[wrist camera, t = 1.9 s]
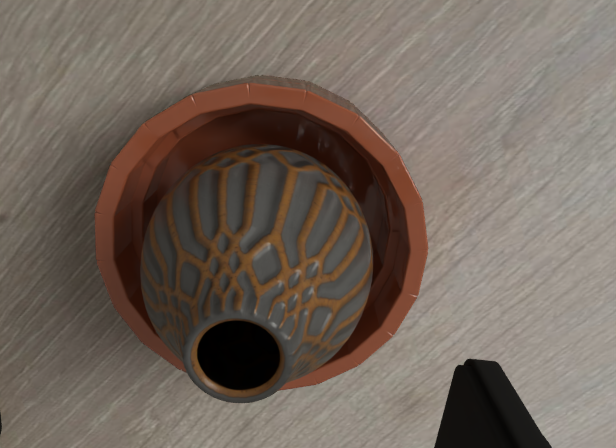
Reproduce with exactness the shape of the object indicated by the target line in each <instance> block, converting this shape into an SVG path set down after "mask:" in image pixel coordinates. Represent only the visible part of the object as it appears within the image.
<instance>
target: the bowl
mask: <svg viewBox="0 0 616 448" xmlns="http://www.w3.org/2000/svg"><path fill="white" fill-rule="evenodd" d="M250 144H270V145H278V146H283V147H287V148H291V149H294V150H297V151H300V152H302V153H305V154H307V155H309V156H311V157H313V158H315V159H317V160H318V161H320V162H321V163H323V164H324V165H326V166H327V167H328V168H330V169H331V170H332V171H333V172H334V173H335V174H336V175H337V176H339V178H340V179H341V180H342V181H343V182H344V183H345V184H346V186H347V187H348V188H349V190H350V191H351V193H352V194H353V196H354V197H355V199H356V201H357V202H358V204H359V206H360V208H361V211H362V213H363V215H364V218H365V220H366V223H367V226H368V229H369V233H370V238H371V243H372V249H373V275H372V283H371V288H370V292H369V296H368V299H367V303H366V305H365V308H364V311H363V313H362V316H361V318H360V320H359V322H358V324H357V326H356V328H355V329H354V331H353V333H352V334H351V336H350V337H349V339H348V340H347V341H346V342H345V344H344V345H343V346H342V347H341V349H340V350H339V351H338V352H337V353H336V354H335V355H334V356H333V357H332V358H331V359H329V360H328V361H327V362H326V363H324V364H323V365H322V366H320V367H319V368H317V369H316V370H314V371H313V372H311V373H309V374H307V375H305V376H303V377H301V378H299V379H296V380H293V381H291V382H288V383H285V385H284V386H283V387H282V388H281V389H279V390H286V389H292V388H298V387H305V386H311V385H316V384H319V383H322V382H324V381H326V380H328V379H330V378H333V377H335V376H337V375H339V374H341V373H344V372H346V371H348V370H350V369H352V368H355V367H357V366H358V364H359V365H360V364H361V363H363V362H364V361H365V360H366V359H367V358H368V357H370V356H371V355H372V354H373V353H374V352H375V351H376V350H378V349H379V348H380V347H381V346H382V345H383V344H385V343H386V342H387V341H388V340H389V339H390V338H392V336H393V335H394V334H395V333H396V331H397V329H398V328H399V326H400V325H401V323H402V321H403V320H404V318H405V316H406V315H407V313H408V312H409V310H410V308H411V307H412V305H413V303H414V302H415V300H416V299H417V296H418V294H419V290H420V285H421V281H422V276H423V272H424V268H425V263H426V259H427V254H428V241H427V233H426V224H425V216H424V208H423V202H422V198H421V196H420V194H419V192H418V190H417V188H416V186H415V184H414V182H413V180H412V178H411V176H410V174H409V172H408V170H407V168H406V166H405V164H404V162H403V160H402V158H401V156H400V155H399V153H398V152H397V151H396V149H395V148H394V147H393V145H392V144H391V143H390V142H389V141H388V139H387V138H386V137H385V135H384V134H383V133H382V132H381V131H380V130H379V129H378V128H377V127H376V126H375V125H374V124H373V123H372V122H371V121H370V120H369V119H368V118H367V117H366V116H365V115H364V114H363V113H362V112H361V111H360V110H359V109H358V108H357V107H356V106H355V105H354V104H353V103H351V102H350V101H349V100H347V99H345V98H342V97H340V96H338V95H336V94H334V93H332V92H330V91H328V90H326V89H324V88H322V87H320V86H318V85H316V84H314V83H311V82H309V81H308V82H307V81H305V80H298V79H290V78H282V77H274V76H266V75H261V76H259V75H255V76H250V77H245V78H240V79H236V80H231V81H226V82H221V83H216V84H213V85H210V86H208V87H206V88H204V89H202V90H199V91H197V92H195V93H193V94H191V95H189V96H187V97H185V98H184V99H182V100H180V101H179V102H177V103H175V104H174V105H172V106H170V107H169V108H167V109H165V110H164V111H162V112H160V113H159V114H157V115H155V116H154V117H152V118H150V119H149V120H147V121H145V123H143V124H142V125H141V126H140V127H139V129H138V130H137V131H136V132H135V134H134V135H133V136H132V137H131V139H130V140H129V141H128V142H127V144H126V145H125V146H124V147H123V148H122V150H121V151H120V152H119V153H118V155H117V156H116V157H115V158H114V160H113V161H112V162H111V165H110V166H109V169H108V172H107V175H106V178H105V181H104V184H103V187H102V190H101V193H100V196H99V199H98V202H97V205H96V209H95V243H96V260H97V265H98V267H99V270H100V272H101V275H102V278H103V280H104V283H105V286H106V288H107V291H108V294H109V296H110V299H111V301H112V304H113V306H114V308H115V309H116V310H117V312H118V313H119V314H120V315H121V317H122V318H123V319H124V321H125V322H126V323H127V324H128V326H129V327H130V328H131V329H132V331H133V332H134V333H135V335H136V336H137V337H138V338H139V340H140V341H141V342H143V344H144V345H146V346H147V347H148V348H150V349H151V350H153V351H154V352H155V353H157V354H158V355H160V356H161V357H162V358H164V359H165V360H167V361H168V362H169V363H171V364H172V365H174V366H175V367H176V368H178V369H179V370H181V369H182V371H184V372H186V370H185V367H184V364H183V362H182V361H180V360H179V359H178V358H177V357H176V356H175V355H174V354H173V353H172V352H171V351H170V350H169V349H168V347H167V346H166V345H165V344H164V342H163V341H162V340H161V338H160V337H159V335H158V334H157V332H156V330H155V328H154V326H153V325H152V323H151V320H150V318H149V316H148V313H147V310H146V307H145V303H144V299H143V295H142V289H141V276H140V266H141V254H142V248H143V242H144V238H145V234H146V231H147V228H148V225H149V222H150V220H151V218H152V215H153V213H154V211H155V209H156V207H157V206H158V204H159V202H160V201H161V199H162V198H163V197H164V195H165V194H166V192H167V191H168V190H169V189H170V187H171V186H172V185H173V184H174V183H175V182H176V181H177V180H178V179H179V178H180V177H181V176H182V175H183V174H184V173H186V172H187V171H188V170H189V169H190V168H192V167H193V166H195V165H196V164H197V163H199V162H201V161H202V160H204V159H206V158H208V157H209V156H211V155H213V154H215V153H218V152H220V151H223V150H226V149H229V148H233V147H237V146H242V145H250ZM186 373H187V372H186ZM279 390H278V391H279Z"/></svg>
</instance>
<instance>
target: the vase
mask: <svg viewBox="0 0 616 448" xmlns="http://www.w3.org/2000/svg"><path fill="white" fill-rule="evenodd" d="M372 275H373V249H372V243H371V238H370V233H369V229H368V226H367V223H366V220H365V218H364V215H363V213H362V211H361V208H360V206H359V204H358V202H357V201H356V199H355V197H354V196H353V194H352V193H351V191H350V190H349V188H348V187H347V186H346V184H345V183H344V182H343V181H342V180H341V179H340V178H339V176H337V175H336V174H335V173H334V172H333V171H332V170H331V169H330V168H328V167H327V166H326V165H324V164H323V163H321V162H320V161H318V160H317V159H315V158H313V157H311V156H309V155H307V154H305V153H302V152H300V151H297V150H294V149H291V148H287V147H283V146H278V145H270V144H250V145H242V146H237V147H233V148H229V149H226V150H223V151H220V152H218V153H215V154H213V155H211V156H209V157H208V158H206V159H204V160H202V161H201V162H199V163H197V164H196V165H195V166H193V167H192V168H190V169H189V170H188V171H187V172H186V173H184V174H183V175H182V176H181V177H180V178H179V179H178V180H177V181H176V182H175V183H174V184H173V185H172V186H171V187H170V189H169V190H168V191H167V192H166V194H165V195H164V197H163V198H162V199H161V201H160V202H159V204H158V206H157V207H156V209H155V211H154V213H153V215H152V218H151V220H150V222H149V225H148V228H147V231H146V234H145V238H144V242H143V248H142V254H141V266H140V276H141V289H142V295H143V299H144V303H145V307H146V310H147V313H148V316H149V318H150V320H151V323H152V325H153V326H154V328H155V330H156V332H157V334H158V335H159V337H160V338H161V340H162V341H163V342H164V344H165V345H166V346H167V347H168V349H169V350H170V351H171V352H172V353H173V354H174V355H175V356H176V357H177V358H178V359H179V360H180V361H182V362H183V364H184V367H185V370H186V372H187V374H188V375H189V377H190V378H191V380H192V381H193V382H194V383H195V384H196V385H197V386H198V387H199V388H200V389H201V390H202V391H204V392H205V393H207V394H208V395H210V396H212V397H214V398H217V399H219V400H223V401H226V402H232V403H250V402H255V401H259V400H262V399H265V398H267V397H269V396H271V395H272V394H274V393H276V392H277V391H278V390H279V389H281V388H282V387H283V386H284V385H285V383H288V382H291V381H293V380H296V379H299V378H301V377H303V376H305V375H307V374H309V373H311V372H313V371H314V370H316V369H317V368H319V367H320V366H322V365H323V364H324V363H326V362H327V361H328V360H329V359H331V358H332V357H333V356H334V355H335V354H336V353H337V352H338V351H339V350H340V349H341V347H342V346H343V345H344V344H345V342H346V341H347V340H348V339H349V337H350V336H351V334H352V333H353V331H354V329H355V328H356V326H357V324H358V322H359V320H360V318H361V316H362V313H363V311H364V308H365V305H366V303H367V299H368V296H369V292H370V288H371V283H372Z"/></svg>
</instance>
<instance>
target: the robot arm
mask: <svg viewBox="0 0 616 448" xmlns="http://www.w3.org/2000/svg"><path fill="white" fill-rule="evenodd" d="M1 429H2V424H1V414H0V434H1ZM434 448H552V447H551V445H550V444H549V442H548V441H547V440H546V438H545V437H544V436H543V435H542V433H541V432H540V430H539V428H538V427H537V425H536V424H535V422H534V420H533V419H532V417H531V415H530V414H529V412H528V410H527V409H526V407H525V406H524V404H523V402H522V401H521V399H520V397H519V396H518V394H517V393H516V391H515V389H514V388H513V386H512V384H511V383H510V381H509V379H508V378H507V376H506V375H505V373H504V371H503V370H502V368H501V366H500V365H499V364H498V363H497V362H495V361H486V360H477V359H467V360H466V361H465V363H464V365H458V366H457V367H456V368H455V371H454V375H453V379H452V382H451V386H450V390H449V394H448V398H447V401H446V405H445V409H444V413H443V417H442V420H441V424H440V428H439V432H438V436H437V439H436V443H435V447H434Z"/></svg>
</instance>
